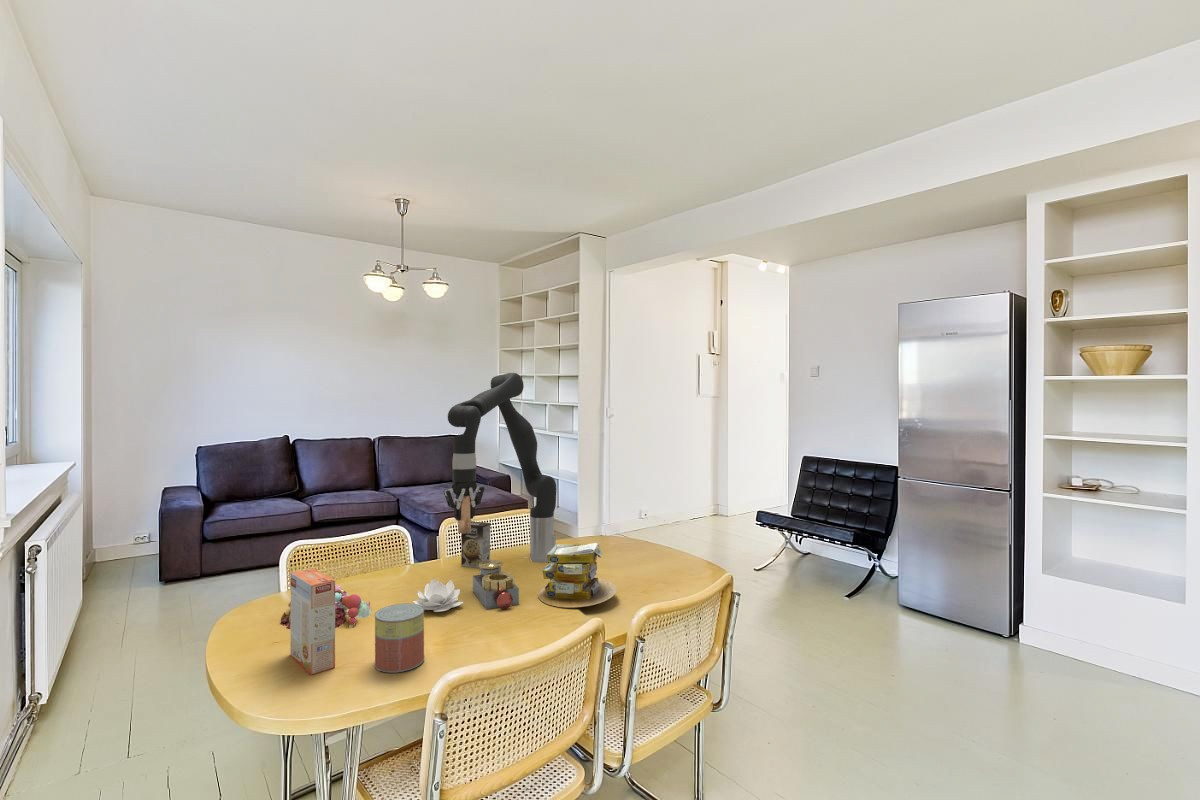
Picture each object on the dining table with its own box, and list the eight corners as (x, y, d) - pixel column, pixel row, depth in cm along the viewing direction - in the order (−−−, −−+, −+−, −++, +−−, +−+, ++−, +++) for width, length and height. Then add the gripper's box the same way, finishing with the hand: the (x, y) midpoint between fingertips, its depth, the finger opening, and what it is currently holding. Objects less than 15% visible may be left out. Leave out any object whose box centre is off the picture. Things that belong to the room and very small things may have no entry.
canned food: (407, 647, 148) (407, 600, 148) (433, 660, 141) (433, 610, 141) (365, 663, 140) (365, 612, 139) (391, 677, 132) (391, 624, 132)
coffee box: (460, 567, 216) (460, 524, 216) (469, 562, 223) (469, 520, 222) (482, 569, 214) (482, 525, 214) (490, 564, 220) (490, 522, 220)
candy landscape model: (268, 641, 153) (268, 606, 153) (289, 609, 176) (289, 578, 176) (370, 630, 160) (370, 596, 160) (378, 601, 183) (378, 571, 183)
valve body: (472, 590, 191) (472, 562, 191) (502, 586, 195) (502, 558, 195) (488, 612, 172) (488, 580, 172) (521, 607, 176) (521, 576, 176)
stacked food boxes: (594, 611, 170) (594, 553, 172) (523, 601, 181) (523, 547, 182) (627, 592, 192) (627, 541, 194) (562, 585, 203) (562, 536, 204)
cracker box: (337, 668, 137) (336, 579, 137) (309, 677, 133) (309, 585, 132) (315, 649, 147) (315, 566, 147) (289, 657, 143) (289, 571, 142)
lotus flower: (460, 597, 185) (460, 570, 185) (466, 614, 171) (465, 584, 170) (412, 603, 180) (412, 575, 180) (414, 621, 166) (414, 590, 166)
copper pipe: (467, 530, 194) (467, 493, 194) (472, 532, 191) (472, 495, 191) (456, 531, 191) (456, 495, 191) (461, 534, 188) (461, 496, 188)
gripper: (478, 464, 198) (478, 514, 198) (438, 467, 189) (438, 520, 189) (489, 466, 192) (489, 518, 193) (448, 469, 183) (448, 524, 184)
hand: (464, 519), depth 191 cm, fingers closed on copper pipe, 4 cm apart
